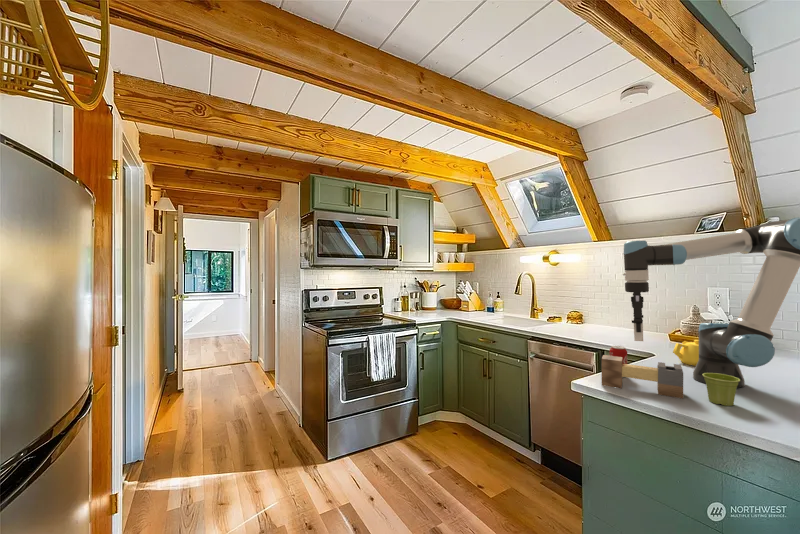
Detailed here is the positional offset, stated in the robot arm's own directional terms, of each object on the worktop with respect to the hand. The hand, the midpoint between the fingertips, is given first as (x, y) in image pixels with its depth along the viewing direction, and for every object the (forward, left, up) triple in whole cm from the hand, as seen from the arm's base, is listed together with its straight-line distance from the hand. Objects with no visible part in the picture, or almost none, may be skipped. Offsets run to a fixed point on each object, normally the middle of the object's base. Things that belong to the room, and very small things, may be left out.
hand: (638, 337), depth 136 cm
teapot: (-22, -55, -19) cm, 62 cm away
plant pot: (-23, +4, -19) cm, 30 cm away
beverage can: (+7, -10, -19) cm, 22 cm away
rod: (+1, +3, -14) cm, 15 cm away
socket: (+8, +3, -18) cm, 20 cm away
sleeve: (-9, +3, -18) cm, 21 cm away
